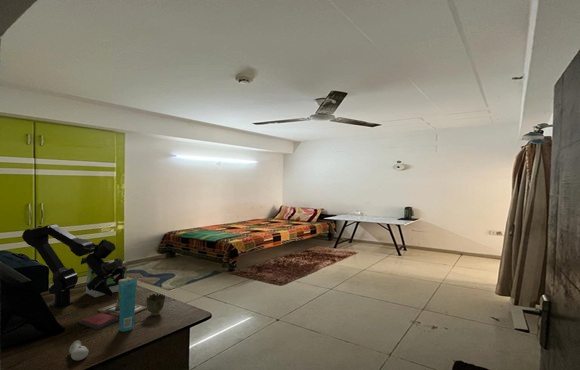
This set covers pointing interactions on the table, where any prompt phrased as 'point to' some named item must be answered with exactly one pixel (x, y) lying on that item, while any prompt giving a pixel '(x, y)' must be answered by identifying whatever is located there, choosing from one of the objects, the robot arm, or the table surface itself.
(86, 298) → the table surface
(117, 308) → the stamp
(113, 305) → the wooden picture frame
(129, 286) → the tube
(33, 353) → the table surface
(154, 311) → the cup
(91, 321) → the ink pad
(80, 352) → the pale two-lobed sculpture
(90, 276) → the tea box
